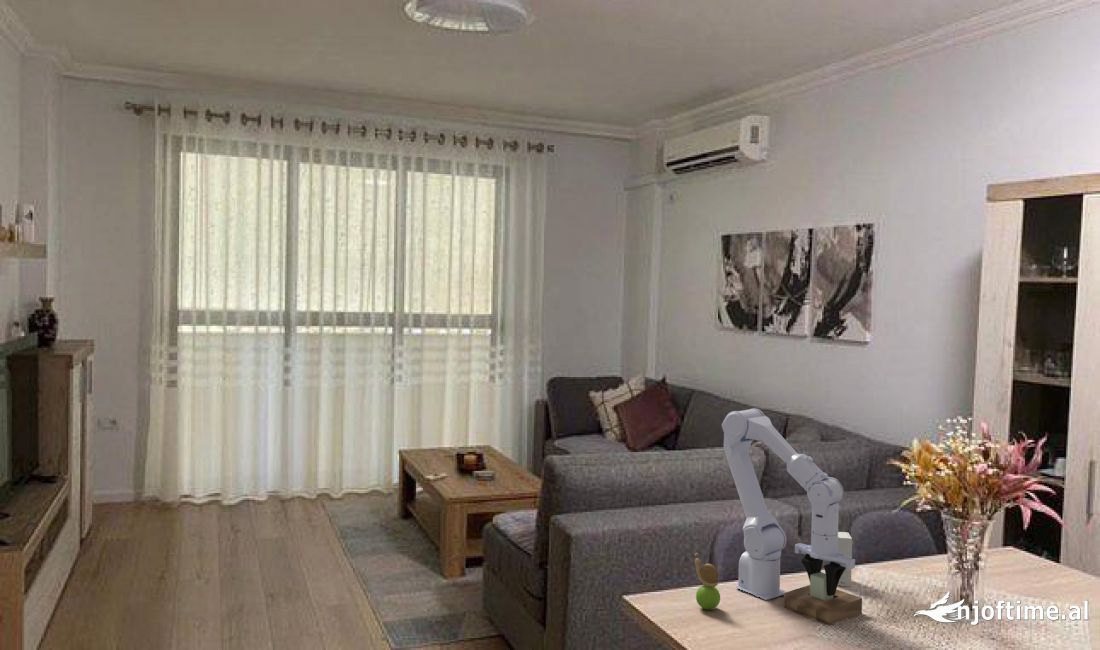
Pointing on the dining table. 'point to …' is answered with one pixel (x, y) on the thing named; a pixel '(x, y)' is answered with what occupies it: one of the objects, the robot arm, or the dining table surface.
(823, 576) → the sage peg
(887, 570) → the dining table surface
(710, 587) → the snail figurine
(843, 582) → the skincare box
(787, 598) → the walnut socket block
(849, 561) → the robot arm
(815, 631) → the dining table surface
